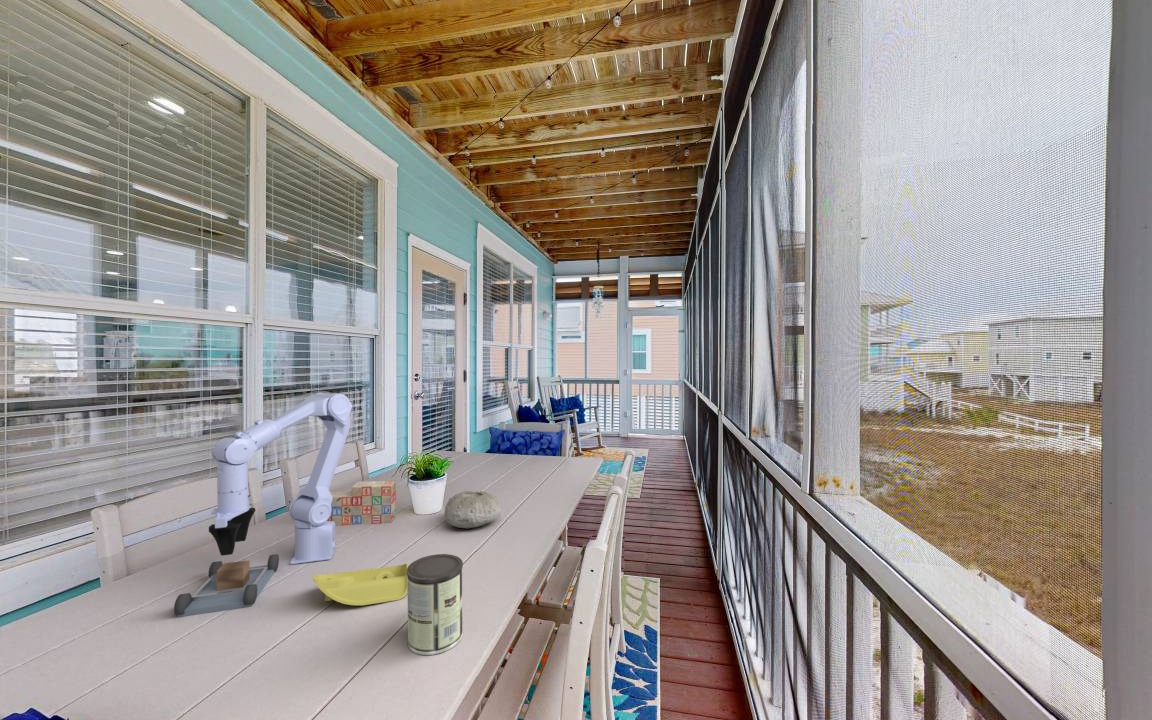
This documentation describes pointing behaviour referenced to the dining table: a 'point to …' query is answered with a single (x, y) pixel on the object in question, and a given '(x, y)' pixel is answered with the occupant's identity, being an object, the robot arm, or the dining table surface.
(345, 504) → the stack of blocks
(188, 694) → the dining table surface
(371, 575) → the plastic component
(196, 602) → the chassis
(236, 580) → the engine block
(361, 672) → the dining table surface
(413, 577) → the coffee can
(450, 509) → the grey rounded lump
